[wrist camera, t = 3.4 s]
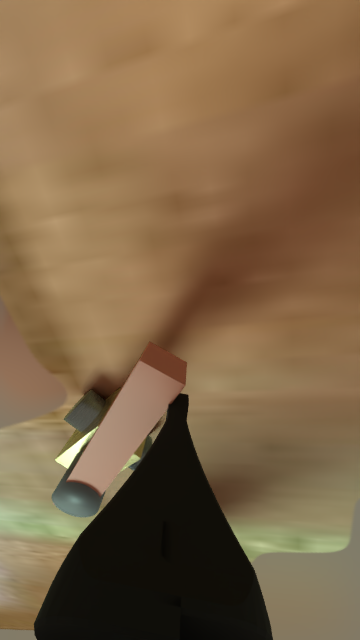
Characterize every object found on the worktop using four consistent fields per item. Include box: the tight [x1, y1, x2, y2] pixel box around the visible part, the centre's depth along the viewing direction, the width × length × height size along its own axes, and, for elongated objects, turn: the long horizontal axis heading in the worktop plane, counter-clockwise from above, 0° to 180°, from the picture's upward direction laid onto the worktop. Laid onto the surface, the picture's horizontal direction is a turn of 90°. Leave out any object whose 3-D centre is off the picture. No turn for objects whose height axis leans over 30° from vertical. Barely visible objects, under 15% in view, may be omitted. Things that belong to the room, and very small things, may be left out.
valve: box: [55, 388, 152, 472], centre depth 16 cm, size 6×8×4 cm
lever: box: [52, 342, 187, 517], centre depth 11 cm, size 14×3×2 cm, turn 149°
